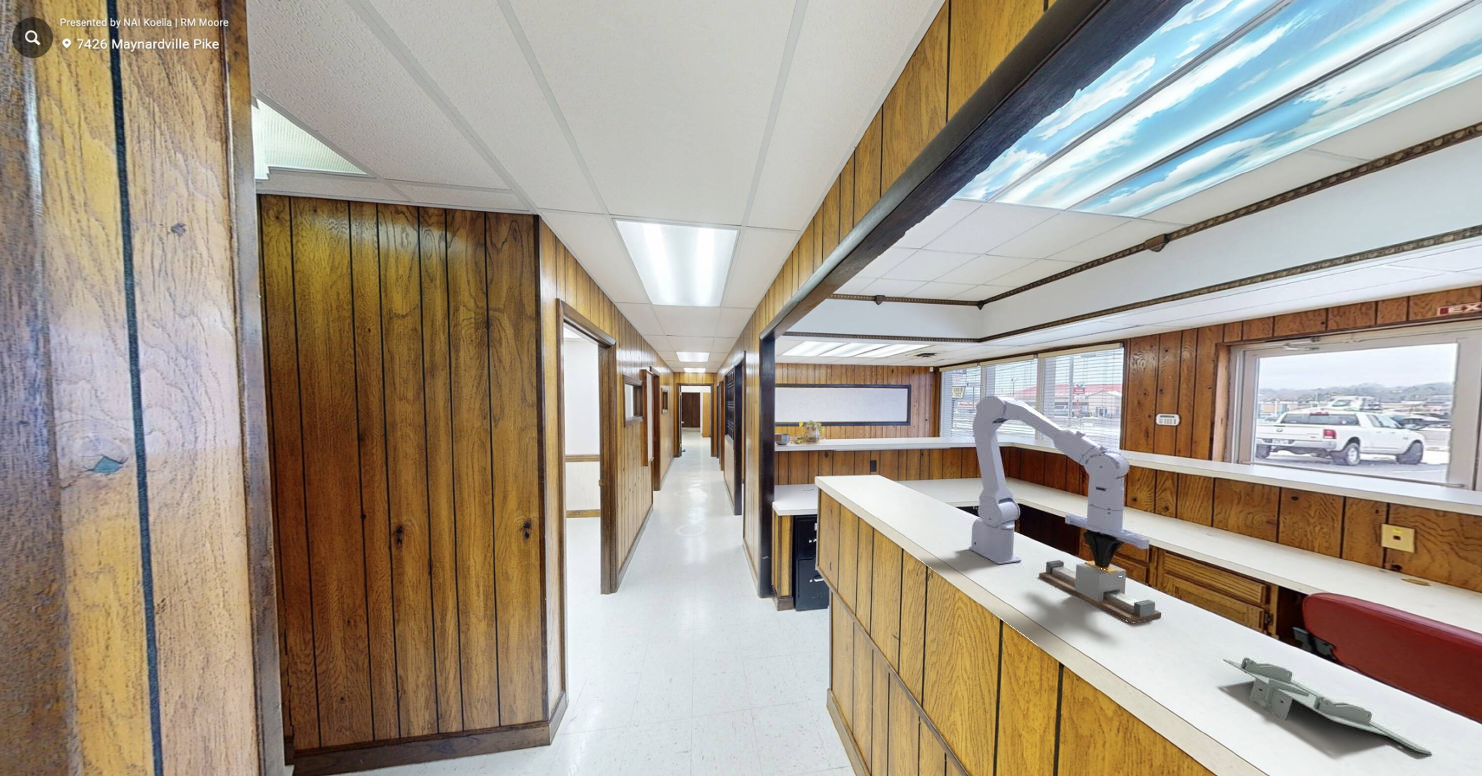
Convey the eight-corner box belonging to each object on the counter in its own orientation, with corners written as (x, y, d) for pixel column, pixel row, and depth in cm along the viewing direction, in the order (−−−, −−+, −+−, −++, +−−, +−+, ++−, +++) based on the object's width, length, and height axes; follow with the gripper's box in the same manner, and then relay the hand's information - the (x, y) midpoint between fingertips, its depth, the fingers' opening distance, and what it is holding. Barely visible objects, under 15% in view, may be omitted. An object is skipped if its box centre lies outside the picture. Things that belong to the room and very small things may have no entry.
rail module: (1074, 590, 86) (1076, 563, 85) (1101, 586, 88) (1102, 559, 87) (1097, 601, 81) (1099, 573, 81) (1124, 597, 83) (1126, 569, 83)
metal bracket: (1358, 719, 49) (1205, 638, 64) (1343, 761, 49) (1194, 671, 64) (1444, 743, 50) (1275, 658, 65) (1430, 784, 50) (1264, 690, 65)
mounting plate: (1039, 577, 93) (1039, 573, 93) (1065, 573, 95) (1066, 569, 95) (1130, 623, 76) (1131, 618, 76) (1161, 617, 78) (1161, 612, 78)
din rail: (1045, 571, 94) (1046, 561, 94) (1059, 569, 95) (1059, 560, 95) (1139, 617, 76) (1140, 605, 76) (1154, 614, 77) (1155, 602, 77)
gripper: (1056, 497, 90) (1054, 553, 90) (1133, 519, 76) (1130, 586, 76) (1078, 495, 92) (1075, 550, 92) (1157, 517, 78) (1154, 582, 78)
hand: (1102, 566), depth 84 cm, fingers closed, pressing on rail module
